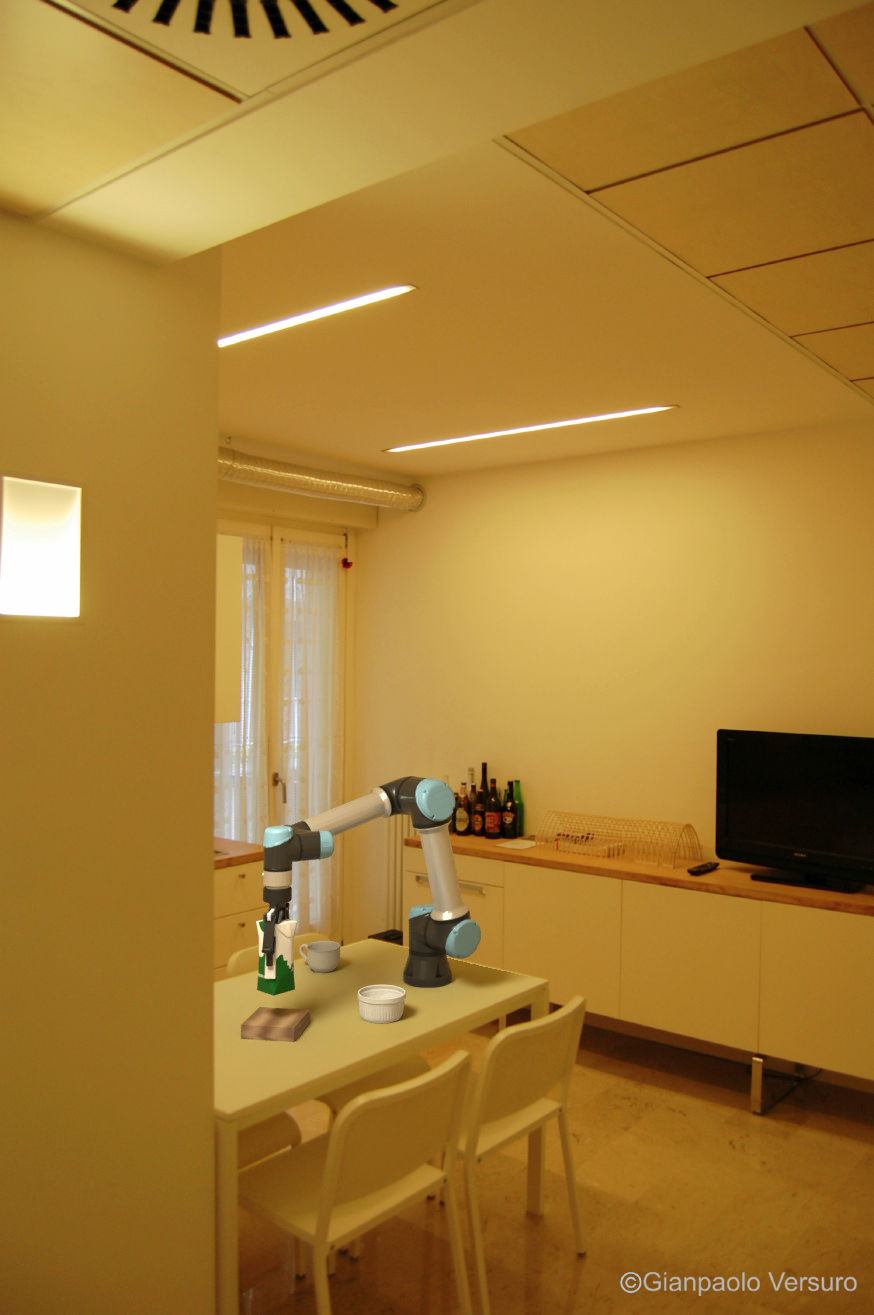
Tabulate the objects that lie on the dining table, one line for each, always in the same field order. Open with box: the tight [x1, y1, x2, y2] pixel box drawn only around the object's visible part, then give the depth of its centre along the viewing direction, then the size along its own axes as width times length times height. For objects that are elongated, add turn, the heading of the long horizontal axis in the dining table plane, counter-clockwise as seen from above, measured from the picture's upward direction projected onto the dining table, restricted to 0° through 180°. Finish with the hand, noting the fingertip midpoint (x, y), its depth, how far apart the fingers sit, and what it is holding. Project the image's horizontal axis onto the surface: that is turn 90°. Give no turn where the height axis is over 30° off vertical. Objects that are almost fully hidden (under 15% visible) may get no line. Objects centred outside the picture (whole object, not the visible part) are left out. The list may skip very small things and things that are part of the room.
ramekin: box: [357, 984, 407, 1024], centre depth 262 cm, size 13×13×7 cm
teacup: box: [298, 940, 341, 974], centre depth 307 cm, size 14×11×8 cm
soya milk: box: [255, 913, 298, 997], centre depth 251 cm, size 9×9×20 cm
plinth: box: [240, 1006, 311, 1043], centre depth 250 cm, size 14×14×4 cm
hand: (276, 972), depth 251 cm, fingers closed on soya milk, 9 cm apart
